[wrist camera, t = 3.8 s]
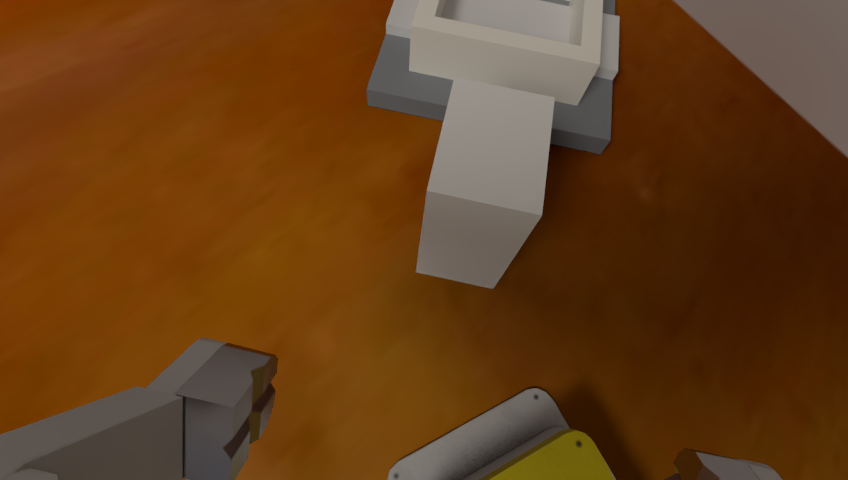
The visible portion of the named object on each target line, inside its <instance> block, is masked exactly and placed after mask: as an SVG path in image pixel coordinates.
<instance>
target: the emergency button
mask: <svg viewBox="0 0 848 480" xmlns="http://www.w3.org/2000/svg"><path fill="white" fill-rule="evenodd" d="M387 480H616V479H615V477H614V475H613V473H612V472H611V470H610V468H609V467H608V465H607V463H606V462H605V460H604V458H603V457H602V455H601V453H600V452H599V450H598V448H597V446H596V445H595V443H594V441H593V440H592V439H591V438H590V437H589V436H588V435H587V434H586V433H583V432H581V431H578V430H575V429H571V428H569V426H568V424H567V423H566V421H565V419H564V417H563V416H562V414H561V412H560V411H559V409H558V407H557V405H556V404H555V402H554V401H553V399H552V398H551V397H550V396H549V395H548V394H547V393H546V392H545V391H542V390H540V389H538V388H533V389H527V390H525V391H523V392H521V393H519V394H518V395H516V396H514V397H512V398H510V399H509V400H507V401H505V402H503V403H501V404H500V405H498V406H496V407H494V408H493V409H491V410H489V411H487V412H485V413H484V414H482V415H480V416H478V417H476V418H475V419H473V420H471V421H469V422H467V423H466V424H464V425H462V426H460V427H458V428H457V429H455V430H453V431H451V432H449V433H448V434H446V435H444V436H442V437H441V438H439V439H437V440H435V441H433V442H432V443H430V444H428V445H426V446H424V447H423V448H421V449H419V450H417V451H415V452H414V453H412V454H410V455H408V456H406V457H405V458H403V459H401V460H399V461H397V463H396V464H395V465H394V466H393V467H392V468H391V469H390V471H389V475H388V479H387Z"/></svg>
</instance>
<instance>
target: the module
mask: <svg viewBox="0 0 848 480" xmlns="http://www.w3.org/2000/svg"><path fill="white" fill-rule="evenodd" d="M554 100H555V98H554V97H550V96H545V95H540V94H535V93H530V92H525V91H521V90H516V89H511V88H506V87H501V86H496V85H492V84H487V83H482V82H477V81H472V80H467V79H463V78H458V77H454V80H453V84H452V88H451V93H450V97H449V101H448V105H447V109H446V113H445V117H444V121H443V125H442V129H441V133H440V137H439V141H438V146H437V150H436V154H435V158H434V162H433V167H432V171H431V175H430V179H429V183H428V188H427V193H426V200H425V207H424V215H423V222H422V230H421V237H420V245H419V252H418V260H417V267H416V272H418V273H422V274H427V275H431V276H436V277H440V278H445V279H449V280H454V281H458V282H463V283H467V284H472V285H476V286H481V287H485V288H490V289H494V287H495V286H496V284H497V283H498V281H499V280H500V278H501V277H502V275H503V274H504V272H505V271H506V269H507V268H508V266H509V265H510V263H511V262H512V260H513V259H514V257H515V256H516V254H517V253H518V251H519V250H520V248H521V247H522V245H523V244H524V242H525V241H526V239H527V238H528V236H529V235H530V233H531V232H532V230H533V229H534V227H535V226H536V224H537V223H538V221H539V220H540V218H541V216H542V212H543V203H544V194H545V184H546V175H547V166H548V156H549V147H550V138H551V128H552V119H553V110H554Z"/></svg>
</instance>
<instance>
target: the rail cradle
mask: <svg viewBox="0 0 848 480" xmlns="http://www.w3.org/2000/svg"><path fill="white" fill-rule="evenodd" d="M619 18H620V16H615V0H394V3H393V5H392V8H391V11H390V14H389V17H388V19H387V22H386V35H385V38H384V41H383V44H382V47H381V50H380V52H379V55H378V58H377V61H376V64H375V67H374V69H373V72H372V75H371V78H370V81H369V84H368V86H367V102H368V106H373V107H378V108H383V109H387V110H392V111H397V112H402V113H406V114H411V115H416V116H421V117H425V118H430V119H435V120H440V121H444V117H445V113H446V109H447V105H448V101H449V97H450V93H451V88H452V84H453V80H454V77H458V78H463V79H467V80H472V81H477V82H482V83H487V84H492V85H496V86H501V87H506V88H511V89H516V90H521V91H525V92H530V93H535V94H540V95H545V96H550V97H554V98H555V100H554V110H553V119H552V128H551V138H550V144H554V145H558V146H563V147H568V148H573V149H577V150H582V151H587V152H592V153H596V154H601V153H602V152H603V150H604V149H605V147H606V146H607V145H608V143H609V142H610V141H611V114H612V84H613V79H614V77H615V76H616V74H617V72H618V56H619Z"/></svg>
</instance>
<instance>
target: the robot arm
mask: <svg viewBox="0 0 848 480" xmlns="http://www.w3.org/2000/svg"><path fill="white" fill-rule="evenodd" d="M277 363H278V358H277V357H276V355H274V354H270V353H266V352H262V351H258V350H254V349H250V348H246V347H242V346H238V345H234V344H230V343H225V342H221V341H217V340H213V339H209V338H201V339H198V340H196V341H195V342H194V343H193V344H192V345H191V346H190V347H189V348H188V349H187V350H185V351H184V352H183V353H182V354H181V355H180V356H179V357H178V358H177V359H176V360H175V361H174V362H173V363H171V364H170V365H169V366H168V367H167V368H166V369H165V370H164V371H163V372H162V373H161V374H160V375H159V376H157V377H156V378H155V379H154V380H153V381H152V382H151V383H150V384H149V385H148V386H147V387H146V388H141V387H134V388H131V389H128V390H126V391H123V392H120V393H117V394H114V395H111V396H109V397H106V398H103V399H100V400H97V401H94V402H92V403H89V404H86V405H83V406H80V407H77V408H75V409H72V410H69V411H66V412H63V413H60V414H58V415H55V416H52V417H49V418H46V419H43V420H41V421H38V422H35V423H32V424H29V425H26V426H24V427H21V428H18V429H15V430H12V431H9V432H7V433H4V434H1V435H0V480H183V479H188V480H235V478H236V477H237V475H238V473H239V472H240V470H241V468H242V467H243V465H244V463H245V462H246V460H247V458H248V450H249V444H251V443H253V442H254V441H256V440H258V439H259V438H260V436H261V435H262V433H263V431H264V429H265V428H266V425H267V423H268V420H269V418H270V415H271V412H272V408H273V404H274V398H275V389H274V388H273V386H272V384H271V383H270V382H271V381H272V379H273V378H274V376H275V375H276V373H277ZM673 463H674V466H675V469H676V472H677V473H675V474H673V475H671V476H670V477H668V478H666V479H664V480H782V479H781V477H780V476H779V475H778V474H777V472H776V471H775V470H773V469H772V468H770V467H769V466H767V465H766V464H762V463H757V462H752V461H747V460H742V459H734V458H729V457H725V456H720V455H715V454H711V453H706V452H702V451H697V450H693V449H688V448H685V449H683V450H682V451H680V452H679V453H678V455H677V457H676V458H675V460H674V462H673Z"/></svg>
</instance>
